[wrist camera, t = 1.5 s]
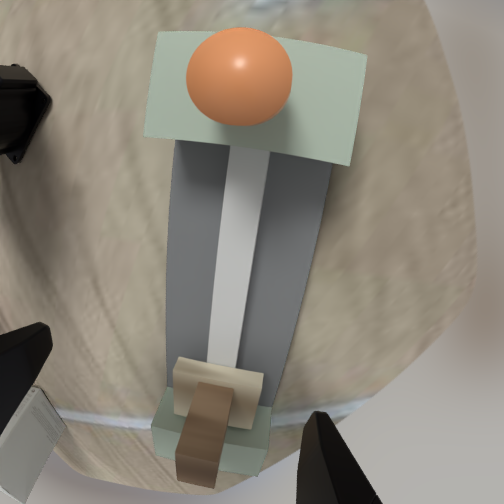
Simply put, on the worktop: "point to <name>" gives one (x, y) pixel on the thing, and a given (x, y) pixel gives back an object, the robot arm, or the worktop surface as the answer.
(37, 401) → the skincare box
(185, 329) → the rail bench
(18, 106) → the robot arm
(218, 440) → the carriage
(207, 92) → the orange knob
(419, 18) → the worktop surface
